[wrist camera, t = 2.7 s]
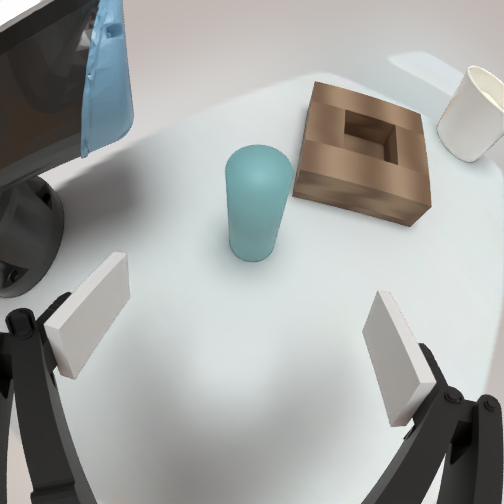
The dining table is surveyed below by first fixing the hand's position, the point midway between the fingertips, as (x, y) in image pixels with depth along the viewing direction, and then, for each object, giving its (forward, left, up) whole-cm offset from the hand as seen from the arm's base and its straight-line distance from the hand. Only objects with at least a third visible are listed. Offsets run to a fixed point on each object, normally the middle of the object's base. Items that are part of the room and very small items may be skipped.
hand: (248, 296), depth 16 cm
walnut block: (+9, +21, -13) cm, 27 cm away
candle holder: (+26, +32, -14) cm, 44 cm away
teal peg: (-1, +8, -13) cm, 16 cm away
